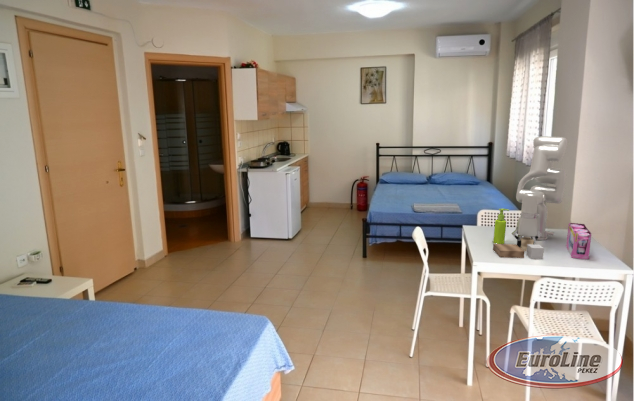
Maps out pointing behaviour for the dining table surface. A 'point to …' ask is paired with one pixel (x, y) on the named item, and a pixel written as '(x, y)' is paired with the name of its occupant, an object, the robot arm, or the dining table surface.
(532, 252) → the grey cube
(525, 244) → the maple cube
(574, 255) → the gum box
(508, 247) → the walnut block
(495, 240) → the soap dispenser
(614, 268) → the dining table surface
